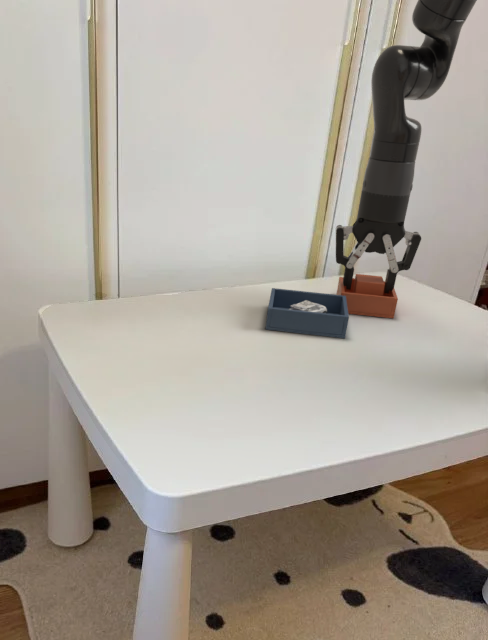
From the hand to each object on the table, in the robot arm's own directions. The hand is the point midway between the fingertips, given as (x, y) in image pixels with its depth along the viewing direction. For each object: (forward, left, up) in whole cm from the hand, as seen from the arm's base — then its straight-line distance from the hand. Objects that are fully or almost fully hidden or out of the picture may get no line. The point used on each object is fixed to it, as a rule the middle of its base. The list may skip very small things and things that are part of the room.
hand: (366, 289), depth 109 cm
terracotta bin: (0, 0, -3) cm, 3 cm away
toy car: (+10, +11, -3) cm, 15 cm away
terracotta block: (0, 0, -3) cm, 3 cm away
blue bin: (+10, +11, -3) cm, 15 cm away
